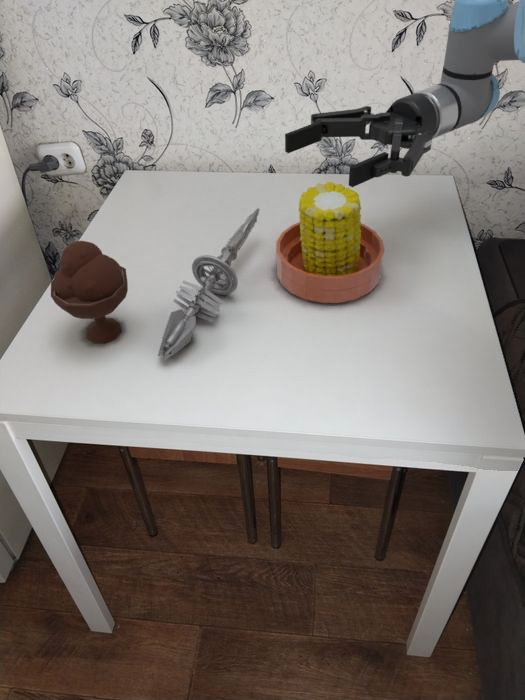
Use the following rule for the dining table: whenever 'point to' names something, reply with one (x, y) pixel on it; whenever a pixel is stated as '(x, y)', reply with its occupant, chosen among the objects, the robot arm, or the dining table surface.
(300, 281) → the terracotta bowl
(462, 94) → the robot arm
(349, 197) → the food
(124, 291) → the ice cream bowl
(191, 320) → the spaceship
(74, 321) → the dining table surface
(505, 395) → the dining table surface
